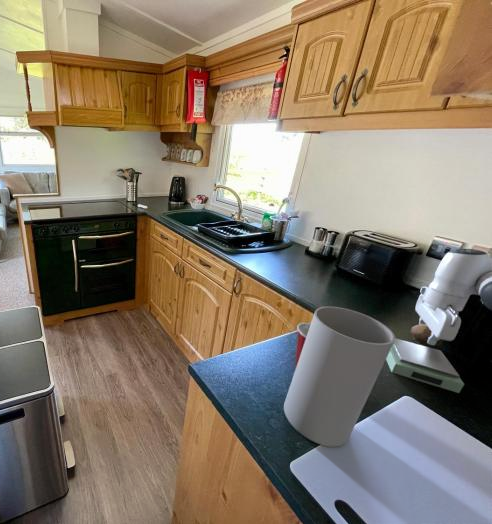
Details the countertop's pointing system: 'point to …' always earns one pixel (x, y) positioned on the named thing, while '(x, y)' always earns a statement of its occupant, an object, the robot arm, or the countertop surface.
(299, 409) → the cylinder vase
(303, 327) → the plastic cup
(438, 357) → the scale pan
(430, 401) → the countertop surface
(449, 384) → the scale base
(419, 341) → the brown potato
